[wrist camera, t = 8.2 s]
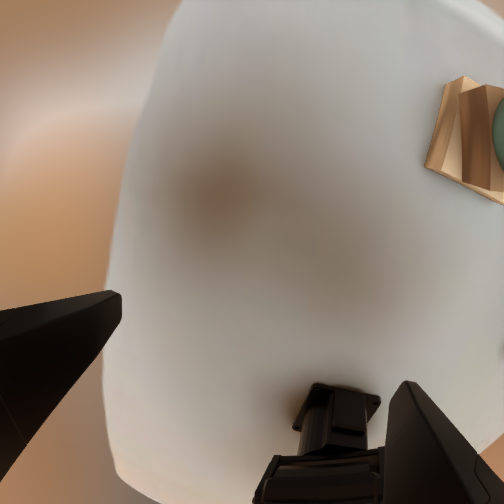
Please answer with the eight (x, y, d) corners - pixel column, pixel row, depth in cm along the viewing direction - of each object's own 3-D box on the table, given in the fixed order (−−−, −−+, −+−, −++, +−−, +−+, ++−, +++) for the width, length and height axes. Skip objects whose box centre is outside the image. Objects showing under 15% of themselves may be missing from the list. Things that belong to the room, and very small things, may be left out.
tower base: (490, 200, 17) (515, 210, 13) (422, 166, 17) (441, 170, 14) (510, 124, 14) (536, 123, 11) (443, 85, 15) (464, 75, 12)
